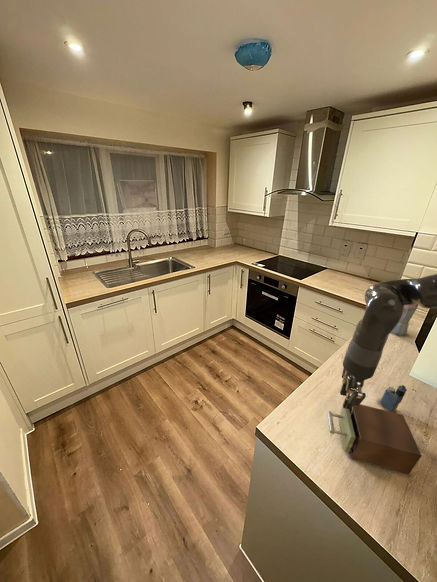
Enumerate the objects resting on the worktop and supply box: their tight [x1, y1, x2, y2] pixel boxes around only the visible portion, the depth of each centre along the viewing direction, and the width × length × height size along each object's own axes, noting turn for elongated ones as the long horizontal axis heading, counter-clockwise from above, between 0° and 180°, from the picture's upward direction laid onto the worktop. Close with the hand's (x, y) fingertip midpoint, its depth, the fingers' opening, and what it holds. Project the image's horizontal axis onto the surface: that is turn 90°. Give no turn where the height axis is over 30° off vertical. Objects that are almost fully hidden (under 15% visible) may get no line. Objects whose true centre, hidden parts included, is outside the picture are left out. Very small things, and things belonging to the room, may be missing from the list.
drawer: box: [326, 407, 360, 454], centre depth 72 cm, size 18×11×7 cm, turn 73°
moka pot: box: [390, 305, 419, 337], centre depth 126 cm, size 10×15×20 cm, turn 112°
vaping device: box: [379, 384, 407, 413], centre depth 83 cm, size 3×5×12 cm, turn 24°
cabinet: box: [349, 403, 423, 476], centre depth 71 cm, size 15×13×9 cm
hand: (345, 400), depth 69 cm, fingers open, 4 cm apart
